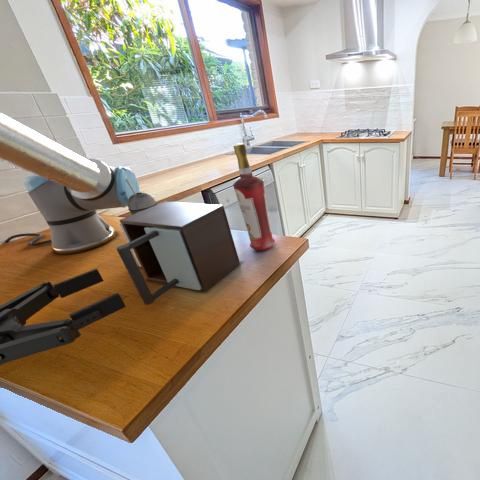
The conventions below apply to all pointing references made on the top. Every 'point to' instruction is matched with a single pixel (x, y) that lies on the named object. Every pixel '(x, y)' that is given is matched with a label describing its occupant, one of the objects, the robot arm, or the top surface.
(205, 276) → the cabinet
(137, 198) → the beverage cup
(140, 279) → the glass door
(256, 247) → the liquor
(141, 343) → the top surface
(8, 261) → the top surface
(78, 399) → the top surface
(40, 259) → the top surface
